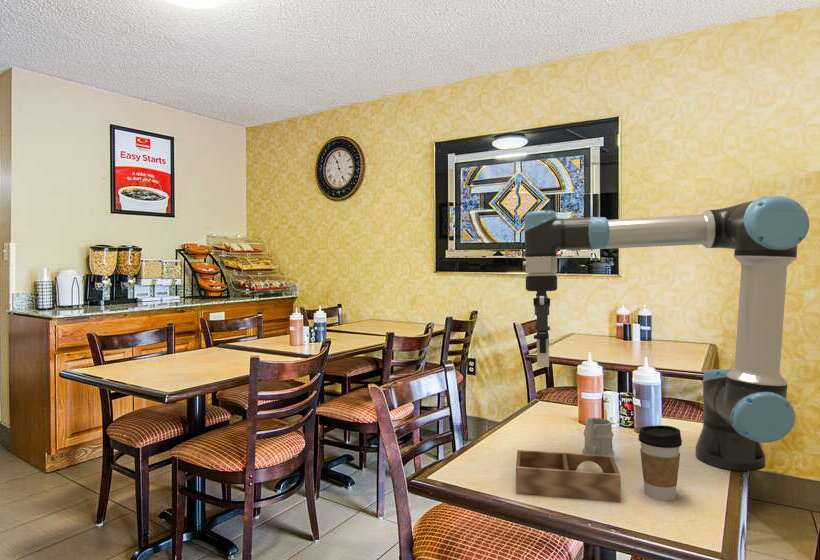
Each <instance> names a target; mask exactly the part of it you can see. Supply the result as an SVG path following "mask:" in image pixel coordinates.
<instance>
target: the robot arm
mask: <svg viewBox="0 0 820 560" xmlns="http://www.w3.org/2000/svg"><path fill="white" fill-rule="evenodd" d="M809 229H810V219H809V215H808V212H807V211H806V209H805V208H804V207H803V206H802V205H801V204H800V203H799V202H797V201H796V200H794V199H792V198H791V197H786V196H780V195H779V196H778V195H775V196H774V195H773V196H772V195H771V196H763V197H759V198H757V199H754V200H751V201H747V202H746V201H745V202H742V203H738V204H735V205H732V206H729V207H724V208H718V209H708V210H707V209H706V210H704V212H702V213H701V214H686V215H671V216H670V215H669V216H652V217H637V218H634V217H633V218H619V219H618V218H616V219H608V218H607V217H604V216H600V217H599V216H589V217H573V218H558V217H557V213H556V211H554V210H534V211H528V212H527V213H526V214H525V216H524V257H525V260H524V261H523V262H522V265H523V266H525V273H526V274H527V275H526V276H525V290H526V291H527V292H536V293H535V297H533V301H532V302H533V307H534V315H535V316H536V333H535V334H534V335H533V340H536V366H537V367H538V368H540V367H541V368H549V367H550V351H549V350H550V344H549V343H550V341H549V337H550V334H549V331H551V326H550V325H549V323H548V319H549V317H548V316H549V315H550V307H551V298H550V297H548V294H547V292H555V291H557V290H558V276H557V275H556V273H558V257H557V255H558V253H557V251H558V250H561V251H562V250H570V251H573V252H579V251H586V250H588V251H589V250H603V249H604V250H606V249H628V248H633V249H634V248H652V247H671V246H673V247H674V246H677V247H679V246H696V245H697V246H699V245H702V246H703V247H704V248H706V249H733V250H734V253H733V256H734V257H733V258H734V259H735V260H736V261H737V262H738V263H740V266H741V267H740V280H739V281H740V283H739V296H738V298H739V299H738V309H737V310H738V311H737V323H736V324H737V325H736V340H735V341H736V342H735V355H734V367H733V368H732V369H726V368H720V369H719V368H714V369H707V370H705V371H704V372H703V376H702V377H703V378H702V379H703V380H702V393H703V394H702V395H703V396H702V398H703V401H702V406H703V407H702V408H703V409H702V410H703V411H702V412H703V413H702V414H703V415H702V416H703V417H702V419H703V420H702V421H703V423H702V425H703V426H702V429H701V431H700V434H699V437H698V439H697V442H696V444H695V457H696V458H697V459H698V460H700V461H701V462H703V463H705V464H708V465H710V466H712V467H713V466H714V467H715V468H716V467H717V468H720V469H724V470H725V469H726V470H731V471H738V472H756V471H760V470H763V469H764V468H765V467H766V454H765V452H764V450H763V446H762V444H761V443H773V442H777V441H779V440H781V439H783V438H784V437H786V436H787V435H789V433H791V431H792V429H793V428H794V427H795V426H794V425H795V422H796V412H795V409H794V407H793V406H792V403H791V402H790V401H789V400H788V399H787V397H788V395H787V394H788V381H787V380H786V379H785V378H784V377H783V376H782V374H781V373H780V372H781V360H782V346H783V345H782V344H783V329H784V319H785V318H784V316H785V302H786V289H787V277H788V276H787V275H788V267H789V266H790V265H791V264H792V263H794V262H795V261H796V260H797V256H798V245H799V244H800V243H802V242H803V241H804V240H805V239H806V237H807V235H808V232H809Z"/></svg>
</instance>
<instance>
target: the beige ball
mask: <svg viewBox="0 0 820 560" xmlns="http://www.w3.org/2000/svg"><path fill="white" fill-rule="evenodd" d="M576 471H588V472H602V473H603V470H602V468H601V467H600V466H599V465H598V464H596V463H595V462H592V461H585V462H582V463H581V464H579V466H578V467H577V469H576Z"/></svg>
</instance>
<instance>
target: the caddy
mask: <svg viewBox="0 0 820 560" xmlns="http://www.w3.org/2000/svg"><path fill="white" fill-rule="evenodd" d="M515 460H516V462H515V494H516V495H524V496H526V495H527V496H536V497H537V496H539V497H550V498H563V499H573V500H574V499H575V500H587V501H598V502H599V501H601V502H611V503H621V502H622V501H621V499H622V498H621V497H622V496H621V495H622V494H621V493H622V492H621V490H622V489H621V483H622V482H621V479H622V477H621V474H620V470H619V468H618V466H617V463H616V461H615V459H614V457H613V456H606V455H591V454H583V453H574V452H573V453H571V452H556V451H555V452H554V451H541V450H524V449H517V451H516V459H515ZM585 461H592V462H595V463H596V464H598V465H599V466H600V467H601V468H602V470H603V473H602V472H588V471H576V469H577V467H578V466H579V464H581V463H582V462H585Z"/></svg>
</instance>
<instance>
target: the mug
mask: <svg viewBox="0 0 820 560" xmlns="http://www.w3.org/2000/svg"><path fill="white" fill-rule="evenodd" d="M584 420H585V421H584V423H585V424H584V430H583V435H584V447H583V448H582V454H591V455H606V456H613V458H614V457H615V451H614V450H613V449H614V448H613V447H614V446H613V436H614V433H613V430H612V422H611V420H609V419H606V418H600V417H590V418H586V419H584Z"/></svg>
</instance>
